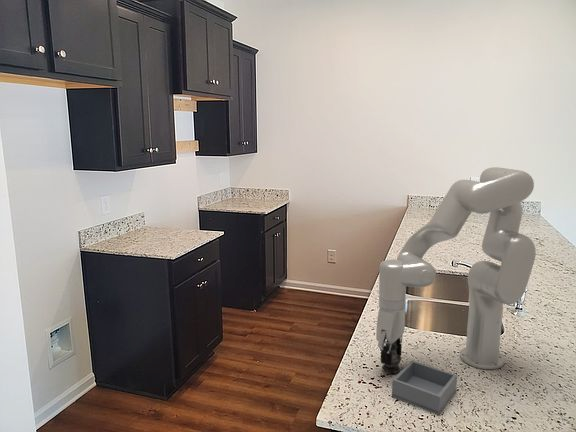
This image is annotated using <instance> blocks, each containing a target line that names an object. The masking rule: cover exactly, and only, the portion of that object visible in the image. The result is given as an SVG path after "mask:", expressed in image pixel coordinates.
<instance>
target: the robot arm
mask: <svg viewBox="0 0 576 432" xmlns="http://www.w3.org/2000/svg"><path fill="white" fill-rule="evenodd" d="M534 186H535V182H534V179H533V177H532V175H530V174H529V173H528V172H526V171H524V170H519V169H513V168H506V167H499V166H497V167H494V166H493V167H492V166H491V167H488V168H485V169H484V170H483V171H482V172H481V174H480V176H479V181H477V180H472V179H471V180H470V179H459V180H457V181H455V182H454V183H453V184H452V185H451V186H450V187H449V190H448V191H447V193H446V195H445V196H444V197H443V199H442V200H441V203H440V204H439V205H438V206H437V209H436V211H435V213H433V216H432V217H431V219H430V220H429V221H428V222H427V223H426V224H424V225H423V226H421V227H420V228H419V229H418V230H417V231H416V232H414V233H413V234H412V235H411V236H410V237H409V238H408V239H407V241H406V242H405V244H404V245H403V247H402V248H401V250H400V252H399V254H398V255H397V256H396V257H397V258H396V259H386V260H383V261H381V262H380V264H379V269H378V270H379V271H378V272H379V276H378V278H379V280H378V283H379V284H378V288H379V289H378V292H379V293H378V308H379V309H378V312H377V313H378V314H377V319H376V332H375V333H376V334H375V339H376V341H378V342H377V343H378V344H377V347H378V348H379V351H380V363H381V364H383V365H384V364H386V365H389V366H390V365H391V364H392V353H391V352H390V351H391V346H392V343H394V342H395V341H396V344H397V346H398V347H397V348H396V353H397V354H398V355H400V356H401V357H402V347H403V346H402V343H403V335H404V333H405V328H406V323H405V322H406V319H405V310H406V302H407V301H406V300H407V299H406V297H407V295H406V294H407V293H406V292H407V287H411V288H425V287H426V288H427V287H428V286H431V285H432V284H433V283H434V282H435V281H436V280H437V271H436V268H435V267H434V266H433V265H432V264H431V263H430V262H428V261H426V260H424V259H423V258H424V256H425V254H426V253H427V252H428V251H429V250H430V249H431V248H432V247H433V246H435V245H436V244H438V243H441V242H446V241H450V240H452V239H455V238H456V237H457V236H458V235H459V233H460V231H461V230H462V228H463V227H464V225H465V223H466V222H467V220H468V218H469V217H470V215H471V214H472V213H476V214H479V215H480V214H481V215H482V214H488V213H489V216H488V222H487V225H486V228H485V232H484V235H483V239H482V243H481V249H482V252H483V253H484V254H485V255H486V256H488V257H490V258H492V259H494V260H496V261H498V262H500V264H497V263H495V262H492V261H489V260H479V261H476V262H475V263H474V264H472V266H471V267H470V268H469V270H468V274H467V284H468V294H469V299H468V300H469V301H468V302H469V304H468V306H469V307H468V315H467V327H466V328H467V330H466V343H465V348H462V349H461V350H460V354H459V355H460V359H461V360H462V361H463V362H464V363H465V364H468V365H469V366H471V367H474V368H476V369H477V368H478V369H483V370H498V369H500V368H501V367H503V366H504V365H505V364H504V363H505V359H504V357H503V356H502V355H501V354H500V346H501V345H500V344H501V335H502V322H503V312H504V305H514V304H516V303H518V302H519V301H520V300H521V299H522V297H523V296H524V294H525V291H526V289H527V286H528V283H529V279H530V277H531V272H532V271H533V267H534V263H535V260H536V253H537V249H536V245H535V244H534V241H533V240H532V239H531V238H530V237H529V236H527V235H525V234H522V233H519V230H520V227H521V221H522V216H523V206H522V202H523V201H525V200H526V199H527V198H529V196H530V195H531V194H532V193H533V191H534V189H535V187H534ZM503 304H504V305H503ZM387 340H388V341H389V342H388V341H387ZM385 344H388V348H387V347H386V346H385Z"/></svg>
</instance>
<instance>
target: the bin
mask: <svg viewBox="0 0 576 432" xmlns="http://www.w3.org/2000/svg"><path fill="white" fill-rule="evenodd" d="M391 381H392V382H391V397H392V398H395V399H397V400H400V401H401V402H405V403H408V404H409V405H412V406H415V407H417V408H420V409H423V410H426V411H428V412H431V413H434V414H435V415H438V416H440V414H441V413H442V411H443V410H445V408H446V406H447V405H448V404H449V402H450V401H451V399H452V398H453V396H455V394H456V393H457V383H458V374H455V373H451V372H449V371H446V370H443V369H439V368H436V367H434V366H430V365H427V364H424V363H423V362H422V363H421V362H418V361H415V360H411V361H410V362H409V363H408V364H407V365H406V366H405V367H404V368H403V369H402V370H400V371H399V372H398V374H396V376H395V377H394V378H393V379H392V380H391Z"/></svg>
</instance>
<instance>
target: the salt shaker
mask: <svg viewBox="0 0 576 432" xmlns="http://www.w3.org/2000/svg"><path fill="white" fill-rule="evenodd" d="M386 341H388V340H387V339H386ZM388 342H389V341H388ZM384 345H385V346H386V347H387V348H388V344H384ZM397 347H398V346H397V344H396V341H395V342H394V343H392V346H391V351H390V352H391V353H392V364H391V365H390V366H389V365H386V364H383V365H382V366H381V369H382V371H384V372H386V373H389V374H396V373H400V372H401V367H400V366H399V365H400V363H401V360H402V355H401V356H400V355H398V354H397V353H396V348H397Z"/></svg>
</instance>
